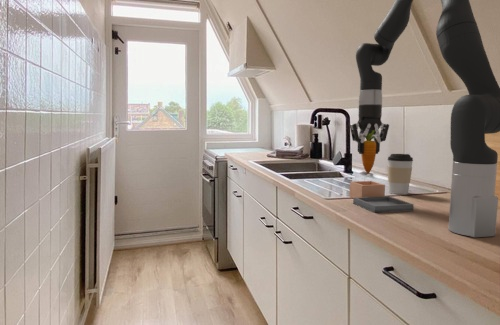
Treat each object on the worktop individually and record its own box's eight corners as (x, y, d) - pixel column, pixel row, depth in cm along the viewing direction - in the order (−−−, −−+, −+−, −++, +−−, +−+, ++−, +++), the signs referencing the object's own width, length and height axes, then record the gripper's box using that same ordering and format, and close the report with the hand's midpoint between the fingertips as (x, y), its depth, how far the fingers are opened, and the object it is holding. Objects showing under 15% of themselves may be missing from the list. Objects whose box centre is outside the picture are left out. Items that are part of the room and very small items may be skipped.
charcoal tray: (413, 210, 116) (413, 204, 116) (374, 212, 113) (374, 206, 113) (388, 201, 129) (388, 196, 129) (353, 203, 126) (353, 197, 126)
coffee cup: (380, 191, 148) (382, 152, 147) (399, 190, 152) (401, 152, 150) (397, 195, 140) (399, 154, 138) (416, 194, 143) (419, 154, 142)
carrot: (357, 172, 134) (358, 129, 133) (368, 172, 136) (370, 129, 135) (366, 174, 130) (368, 130, 128) (378, 174, 132) (380, 130, 130)
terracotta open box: (384, 200, 131) (385, 184, 130) (361, 201, 129) (362, 185, 128) (371, 195, 139) (371, 180, 139) (349, 196, 137) (349, 181, 137)
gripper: (356, 103, 125) (354, 155, 127) (395, 103, 129) (393, 154, 130) (345, 104, 133) (344, 153, 134) (383, 104, 136) (381, 152, 137)
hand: (368, 153), depth 132 cm, fingers closed on carrot, 5 cm apart
